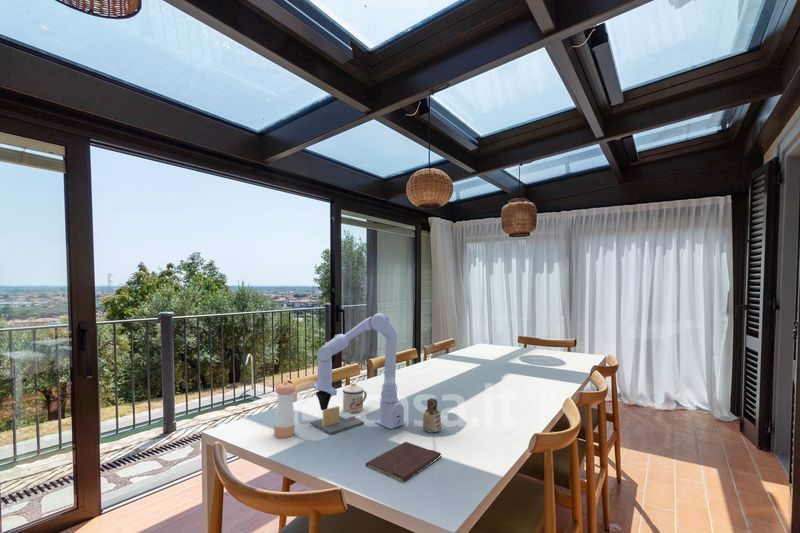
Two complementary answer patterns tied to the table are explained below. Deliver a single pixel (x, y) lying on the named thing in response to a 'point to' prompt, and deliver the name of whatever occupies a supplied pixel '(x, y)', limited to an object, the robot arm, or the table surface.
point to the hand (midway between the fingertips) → (324, 409)
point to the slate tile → (346, 416)
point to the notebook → (403, 460)
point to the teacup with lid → (353, 398)
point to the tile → (330, 416)
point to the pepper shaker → (284, 411)
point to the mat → (337, 425)
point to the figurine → (431, 417)
